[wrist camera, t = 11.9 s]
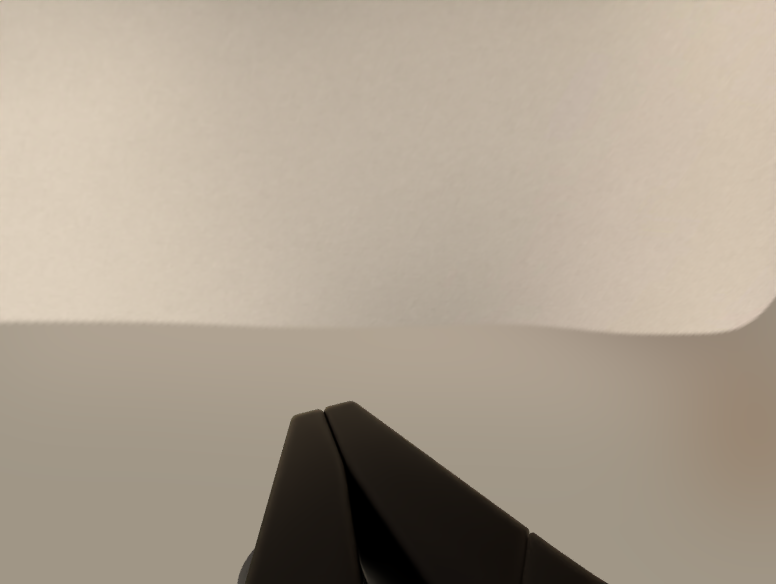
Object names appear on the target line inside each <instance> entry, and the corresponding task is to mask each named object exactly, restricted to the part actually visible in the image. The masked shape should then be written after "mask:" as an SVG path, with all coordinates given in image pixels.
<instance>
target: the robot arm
mask: <svg viewBox="0 0 776 584" xmlns="http://www.w3.org/2000/svg"><path fill="white" fill-rule="evenodd" d="M245 584H608V583H606V582H604V581H603V580H601V579H600V578H598V577H596V576H595V575H593V574H592V573H590V572H589V571H587V570H586V569H585V568H583V567H581V566H580V565H578V564H577V563H576V562H574V561H573V560H571V559H570V558H569V557H567V556H566V555H564V554H563V553H561V552H560V551H558V550H557V549H556V548H554V547H553V546H551V545H550V544H549V543H547V542H546V541H545V540H543V539H542V538H541V537H539V536H538V535H537V534H535V533H530V534H529V529H528V528H527V527H525V526H524V525H522V524H521V523H520V522H518V521H517V520H515V519H514V518H513V517H511V516H510V515H509V514H507V513H506V512H505V511H503V510H502V509H501V508H499V507H497V506H496V505H495V504H494V503H492V502H491V501H490V500H488V499H487V498H485V497H484V496H483V495H481V494H480V493H479V492H477V491H476V490H475V489H473V488H472V487H470V486H469V485H468V484H466V483H465V482H464V481H462V480H461V479H460V478H458V477H457V476H455V475H454V474H452V473H451V472H450V471H449V470H447V469H446V468H444V467H443V466H442V465H440V464H439V463H438V462H436V461H435V460H434V459H432V458H431V457H429V456H428V455H427V454H425V453H424V452H423V451H421V450H420V449H419V448H417V447H416V446H414V445H413V444H412V443H410V442H409V441H408V440H406V439H405V438H403V437H402V436H401V435H399V434H398V433H397V432H395V431H394V430H393V429H391V428H390V427H388V426H387V425H386V424H384V423H383V422H382V421H380V420H379V419H377V418H376V417H375V416H373V415H372V414H371V413H369V412H368V411H367V410H365V409H364V408H362V407H361V406H360V405H358V404H357V403H355V402H353V401H349V402H344V403H340V404H336V405H332V406H328V407H326V409H325V410H324V412H323V411H322V410H319V409H317V410H313V411H309V412H305V413H301V414H297V415H295V416H293V418H292V419H291V422H290V426H289V429H288V433H287V436H286V440H285V443H284V447H283V450H282V454H281V457H280V461H279V464H278V468H277V471H276V475H275V478H274V482H273V486H272V489H271V493H270V497H269V500H268V504H267V507H266V511H265V514H264V518H263V521H262V525H261V528H260V532H259V535H258V539H257V543H256V546H255V549H254V553H253V557H252V560H251V564H250V567H249V571H248V574H247V578H246V581H245Z"/></svg>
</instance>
